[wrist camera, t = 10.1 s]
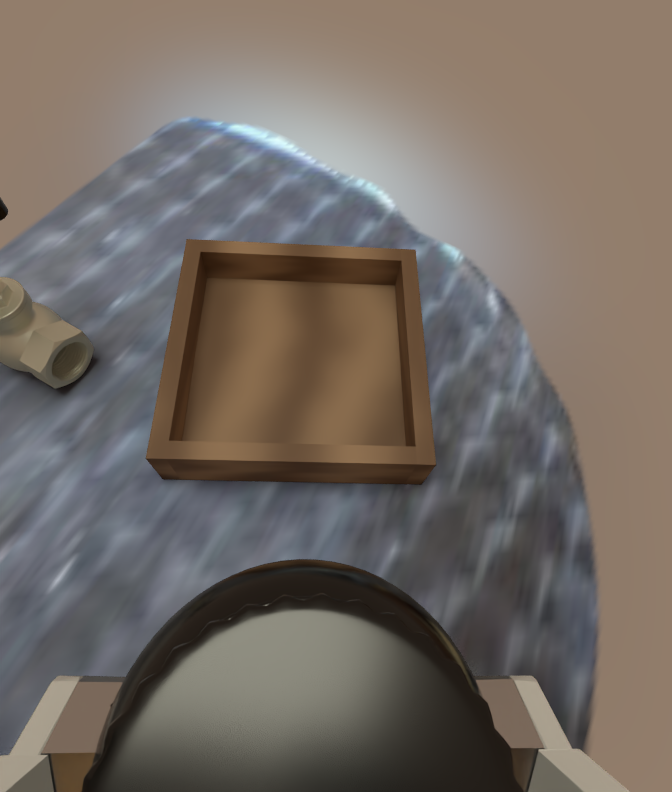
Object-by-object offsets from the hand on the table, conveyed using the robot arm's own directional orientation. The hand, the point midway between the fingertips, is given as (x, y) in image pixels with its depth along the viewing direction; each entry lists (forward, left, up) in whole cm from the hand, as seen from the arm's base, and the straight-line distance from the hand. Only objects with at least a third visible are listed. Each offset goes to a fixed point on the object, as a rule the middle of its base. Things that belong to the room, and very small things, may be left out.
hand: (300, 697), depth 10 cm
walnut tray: (-1, +17, -16) cm, 23 cm away
